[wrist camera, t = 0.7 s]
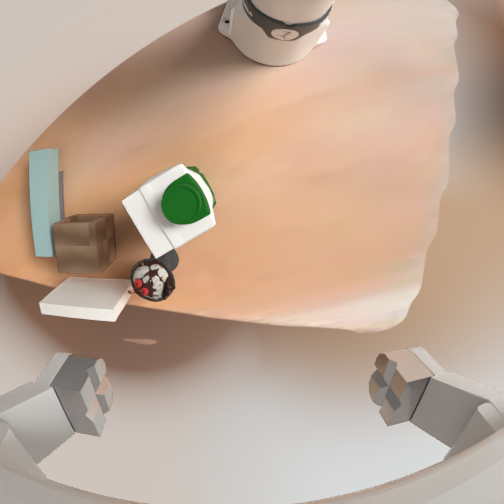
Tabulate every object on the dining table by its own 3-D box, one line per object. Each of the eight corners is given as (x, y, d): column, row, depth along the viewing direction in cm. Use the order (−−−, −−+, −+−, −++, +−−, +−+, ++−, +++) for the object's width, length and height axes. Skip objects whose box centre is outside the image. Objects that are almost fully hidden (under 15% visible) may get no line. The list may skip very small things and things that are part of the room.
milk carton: (223, 204, 49) (223, 231, 30) (177, 231, 49) (149, 273, 30) (197, 158, 46) (179, 154, 27) (150, 186, 47) (105, 202, 28)
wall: (69, 276, 50) (38, 302, 38) (133, 279, 51) (112, 309, 39) (70, 286, 50) (41, 313, 39) (135, 289, 52) (114, 321, 40)
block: (74, 214, 46) (52, 223, 39) (113, 213, 47) (95, 223, 39) (78, 257, 48) (58, 272, 41) (116, 258, 49) (99, 274, 42)
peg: (41, 151, 40) (29, 151, 36) (58, 148, 41) (46, 148, 37) (46, 249, 45) (35, 256, 41) (63, 250, 46) (52, 257, 42)
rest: (50, 172, 44) (43, 173, 41) (62, 171, 44) (56, 171, 42) (52, 225, 46) (46, 228, 44) (65, 225, 47) (58, 228, 44)
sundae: (139, 250, 50) (110, 283, 35) (172, 234, 49) (152, 262, 35) (157, 282, 52) (136, 324, 37) (190, 267, 51) (178, 306, 37)
